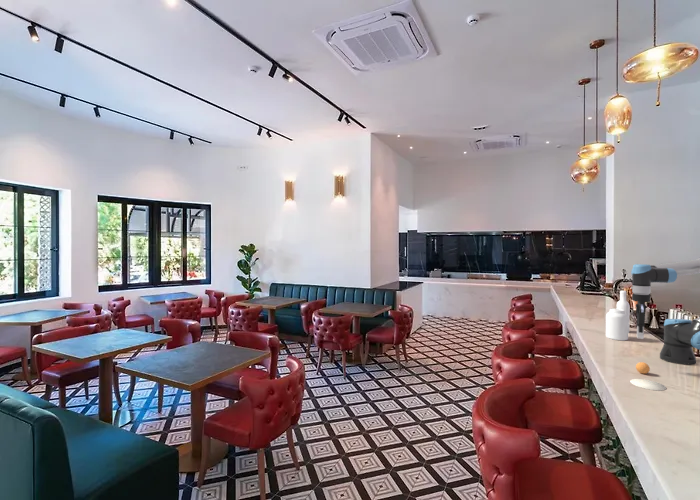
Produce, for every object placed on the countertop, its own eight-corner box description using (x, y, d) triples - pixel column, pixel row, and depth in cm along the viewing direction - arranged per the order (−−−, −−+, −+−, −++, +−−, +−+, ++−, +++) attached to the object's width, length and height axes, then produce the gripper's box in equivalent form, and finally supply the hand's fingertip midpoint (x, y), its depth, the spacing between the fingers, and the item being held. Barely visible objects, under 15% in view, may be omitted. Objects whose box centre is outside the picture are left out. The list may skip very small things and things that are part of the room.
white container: (601, 337, 251) (601, 308, 250) (612, 335, 256) (612, 306, 256) (621, 341, 239) (621, 311, 239) (632, 339, 245) (632, 309, 244)
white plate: (663, 382, 171) (663, 382, 171) (668, 392, 160) (668, 392, 160) (628, 377, 178) (628, 377, 178) (631, 386, 167) (631, 386, 167)
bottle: (623, 333, 260) (624, 291, 260) (613, 330, 268) (613, 290, 267) (632, 332, 262) (632, 291, 262) (621, 329, 270) (622, 289, 269)
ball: (648, 372, 184) (649, 361, 184) (650, 376, 179) (650, 365, 179) (635, 370, 187) (635, 360, 187) (636, 373, 182) (636, 363, 182)
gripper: (630, 291, 198) (630, 334, 198) (633, 294, 187) (632, 340, 187) (648, 292, 194) (647, 336, 194) (652, 295, 183) (651, 342, 183)
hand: (640, 338), depth 191 cm, fingers closed
